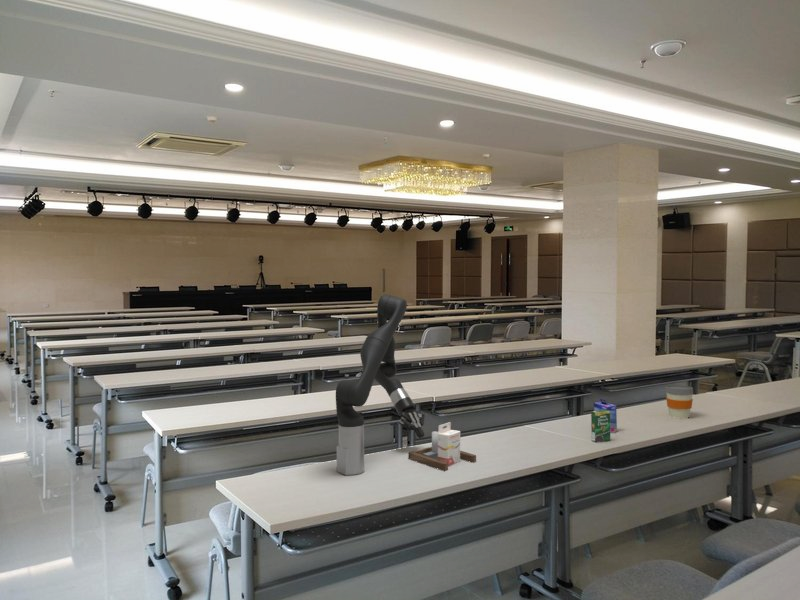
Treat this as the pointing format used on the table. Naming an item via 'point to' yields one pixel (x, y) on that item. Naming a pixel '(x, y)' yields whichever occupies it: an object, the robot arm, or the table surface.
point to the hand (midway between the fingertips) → (422, 436)
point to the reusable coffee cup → (679, 400)
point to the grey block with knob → (433, 446)
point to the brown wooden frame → (436, 463)
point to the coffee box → (600, 425)
